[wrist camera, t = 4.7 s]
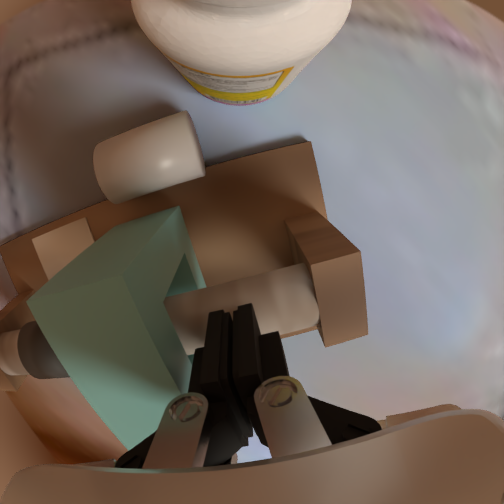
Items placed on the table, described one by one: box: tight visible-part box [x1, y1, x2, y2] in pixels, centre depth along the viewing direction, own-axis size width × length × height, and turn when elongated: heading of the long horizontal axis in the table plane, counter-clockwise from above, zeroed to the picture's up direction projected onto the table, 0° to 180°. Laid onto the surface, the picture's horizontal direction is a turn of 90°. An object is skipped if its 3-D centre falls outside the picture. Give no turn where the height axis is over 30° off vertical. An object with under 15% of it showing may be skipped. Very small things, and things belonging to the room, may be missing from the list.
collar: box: [26, 206, 206, 450], centre depth 14 cm, size 9×4×9 cm, turn 14°
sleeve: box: [93, 110, 206, 204], centre depth 15 cm, size 4×5×4 cm
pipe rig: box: [0, 141, 368, 391], centre depth 16 cm, size 12×23×8 cm, turn 104°
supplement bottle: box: [131, 0, 352, 106], centre depth 9 cm, size 7×7×13 cm
